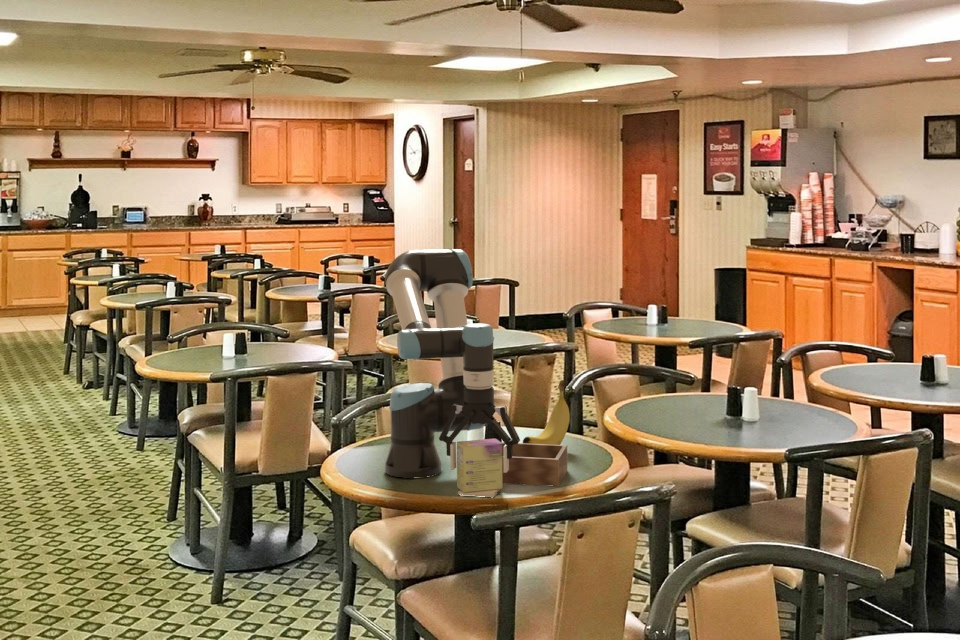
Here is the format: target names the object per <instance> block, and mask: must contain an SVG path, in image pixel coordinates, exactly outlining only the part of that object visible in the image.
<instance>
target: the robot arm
mask: <svg viewBox="0 0 960 640" xmlns="http://www.w3.org/2000/svg"><path fill="white" fill-rule="evenodd" d="M473 280H474V278H473V268H472V264H471V261H470V257H469V256H468V254H467V252H466V251H465V250H463V249H460V248H459V249H458V248H456V249H455V248H454V249H453V248H450V247H449V248H446V249H442V248H441V249H410V250H407V251H405V252H402V253H401V254H400V255H398V256H397V257H395V258H394V259H393V260H392V261H391V263H390V264H389V266H388V267H387V269H386V272H385V276H384V283H385V287H386V291H387V293H388V294H389V295H390V296H391V297H392V299H393V303H394V307H395V310H396V311H395V312H396V314H397V318H398V321H399V324H400V328H401V329H400V330H399V331H398V333H397V337H396V338H397V339H396V343H397V345H396V346H397V354H398V357H399V359H403V360H413V361H414V360H415V361H416V360H424V359H425V360H426V359H428V360H429V359H439V358H440V365H441V372H442V373H441V374H442V378H441V380H440V381H439V382H438V384H437V385H438V388H435V387H434V385H433V384H432V383H429V382H417V383H410V384H406V385H403V386H399V387H396V389H394V390H392V392H391V394H390V398H389V407H388V409H389V411H390V412H389V413H390V447H389V449H388V453H387V457H386V460H385V462H384V463H385V465H384V472H386V473H387V474H389V475H391V476H390V477H392V476H395V477H394V478H396V477H405V478H404V479H406V478H414V477H425V478H428V477H427V476H430V477H433V476H432V475H434V476H436V475H435V474H437V475H438V473H439V474H440V473H441V472H442V461H441V459H440V455H439V452H438V449H437V446H436V444H435V433H440V435H439V436H438V440H439V441H440V442H444V443H445V445H446V447H445V448H446V456H447V457H448V456H449V457H450V458H449V460H450V470H451V471H454V470H455V469H457V442H456V441H454V440H455V439H456V437H457V436H458V435H459V434H460V433H461V432H462V431H467V432H469V431H472V430H480V429H483V428H484V427H485V426H486V424H487V425H488V426H489V427H490V428H491V429H492V430H493V431H494V432H495V433H496V434H497V436H498V437H499V438H500V439H501V442H504V443H505V446H504V447H503V462H504V473H507V471H508V470H509V459H511V458H512V456H513V445H515V444H518V443H520V441H521V438H520V437H519V434H518V432H517V430H516V428H515V427H514V424H513V421H512V419H510V416H509V414H508V408H507V405H505V404H504V405H502V406H496V405H495V390H494V389H495V387H493V386H494V384H495V381H494V380H495V377H494V374H495V373H494V342H495V337H494V329H493V326H492V325H491V324H490V323H489V324H488V323H479V322H478V323H476V322H475V323H468V318H467V312H466V311H467V310H466V303H465V298H466V296H468V293H469V289H471V288H472V286H473V283H474V282H473ZM421 291H425V292H427V293H426V294H427V297H428V299H429V300H430V301H432V302H433V306H434V313H435V322H436V328H432V326H431V323H430V320H429V316H428V313H427V310H426V307H425V303H424V300H423V297H422V293H421ZM495 413H497V415H498V416H499V417H500V418H501V420H502V422H503V425H504V427H505V429H506V430H507V432H506V431H505V429H504V428H503V427H502V426H501V425H500V424H499V422H498V421H497V419H496V418H495V417H494V415H495ZM449 432H452V433H451V434H450V435H449V436H448V434H449ZM508 434H509V435H508ZM386 473H385V474H386ZM387 474H386V475H387ZM389 475H388V476H389ZM414 479H415V478H414Z"/></svg>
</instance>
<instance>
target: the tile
mask: <svg viewBox="0 0 960 640" xmlns="http://www.w3.org/2000/svg"><path fill="white" fill-rule="evenodd" d="M500 490H501V489H493V490H482V491H472V492H463V491H462V490H460V489H459V491H457V495H458V494H461V495H462V494H463V495H475V496H485V497H494V496H495V495H497V494H498V493H499V492H500ZM498 491H499V492H498ZM497 492H498V493H497ZM495 497H496V496H495ZM495 497H494V498H495Z"/></svg>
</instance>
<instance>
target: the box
mask: <svg viewBox="0 0 960 640" xmlns="http://www.w3.org/2000/svg"><path fill="white" fill-rule="evenodd" d="M501 442H502V441H500V440H499V439H497V438H487V439H485V438H484V439H474V440H461V441H457V442H456V487H457V488H458V489H459V491H460V490H462V491H463V492H472V491H482V490H493V489H500V490H502V489H503V483H502V443H501Z"/></svg>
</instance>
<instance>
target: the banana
mask: <svg viewBox="0 0 960 640" xmlns="http://www.w3.org/2000/svg"><path fill="white" fill-rule="evenodd" d="M557 389H559V396H558V399H557V402H556V403H555V404H554V405H553V408H552V411H551V412H550V416H549V419H548V421H547V424H546V426H545V427H544V429H543V430H542V432H541V433H540V434H539V435H537V436H525V437H524V438H523V440H522V443H529V444H551V445H562V443H563V440H564V439H565V436H566V434H567V431H568V428H569V424H570V421H571V420H570V408H569V406H568V404H567V402H566V399H565V398H564V390H565V380H564V379H561V380H559V383H558V386H557Z"/></svg>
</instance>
